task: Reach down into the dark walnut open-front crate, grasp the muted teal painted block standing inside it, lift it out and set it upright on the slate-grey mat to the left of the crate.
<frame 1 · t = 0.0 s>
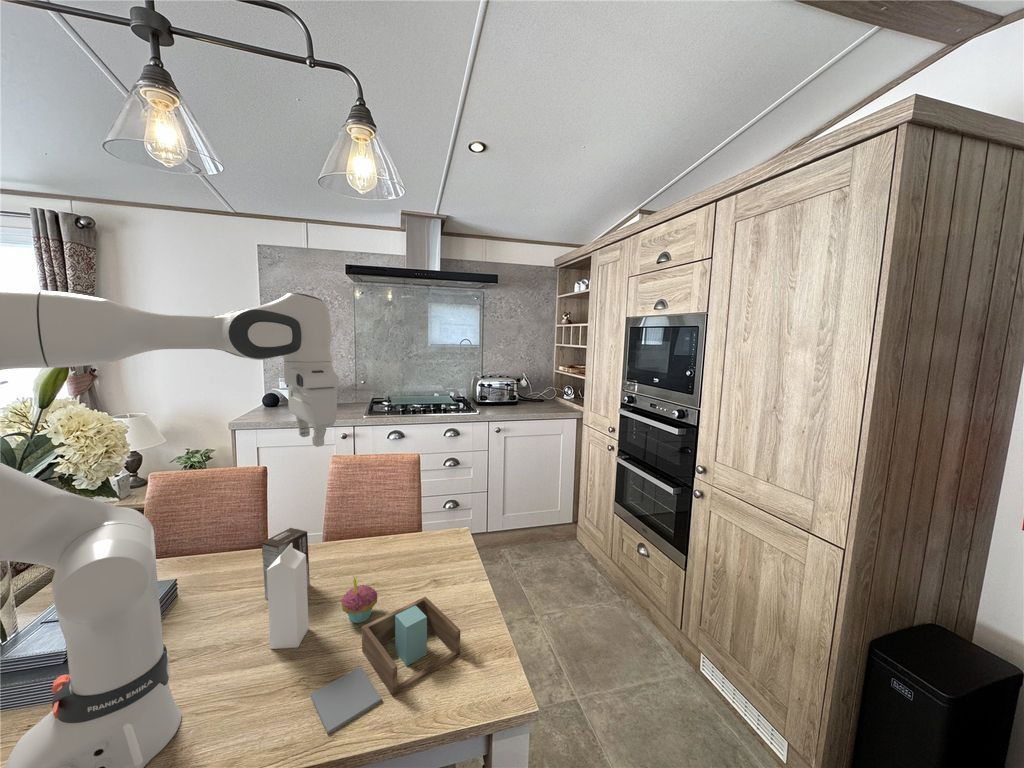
hand: (311, 440, 83), 48 cm above the table, fingers open, 8 cm apart
mat: (346, 698, 77), on the table
cupcake: (359, 617, 100), on the table
block: (411, 634, 88), in the crate
milk: (290, 639, 92), on the table
crate: (411, 653, 89), on the table
coffee box: (287, 592, 109), on the table
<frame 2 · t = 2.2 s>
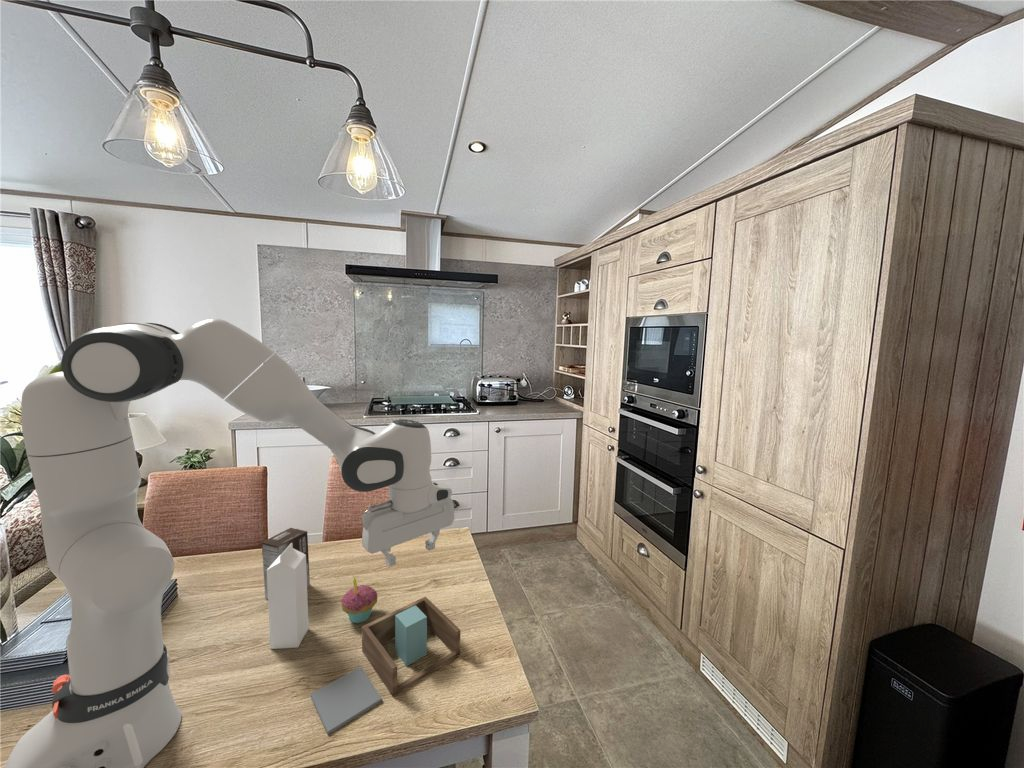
hand: (411, 556, 86), 23 cm above the table, fingers open, 8 cm apart
nothing on the table moved.
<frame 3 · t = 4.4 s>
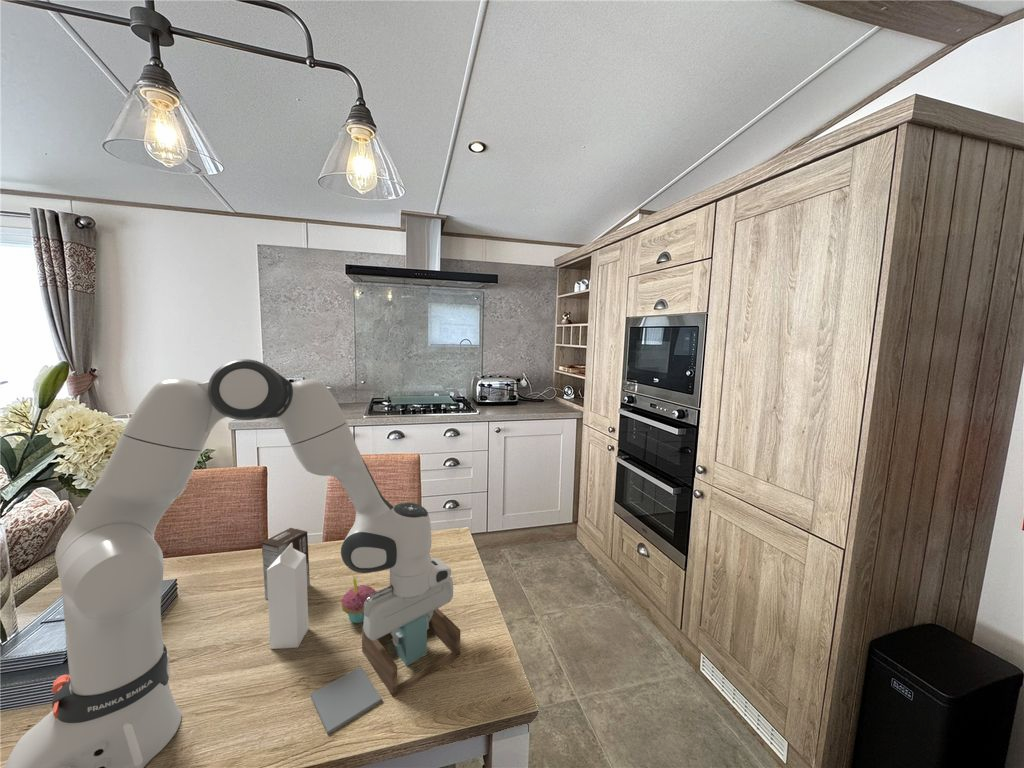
hand: (411, 635, 88), 4 cm above the table, fingers closed on block, 5 cm apart
block: (411, 634, 88), in the crate, touching gripper
everything else where it was.
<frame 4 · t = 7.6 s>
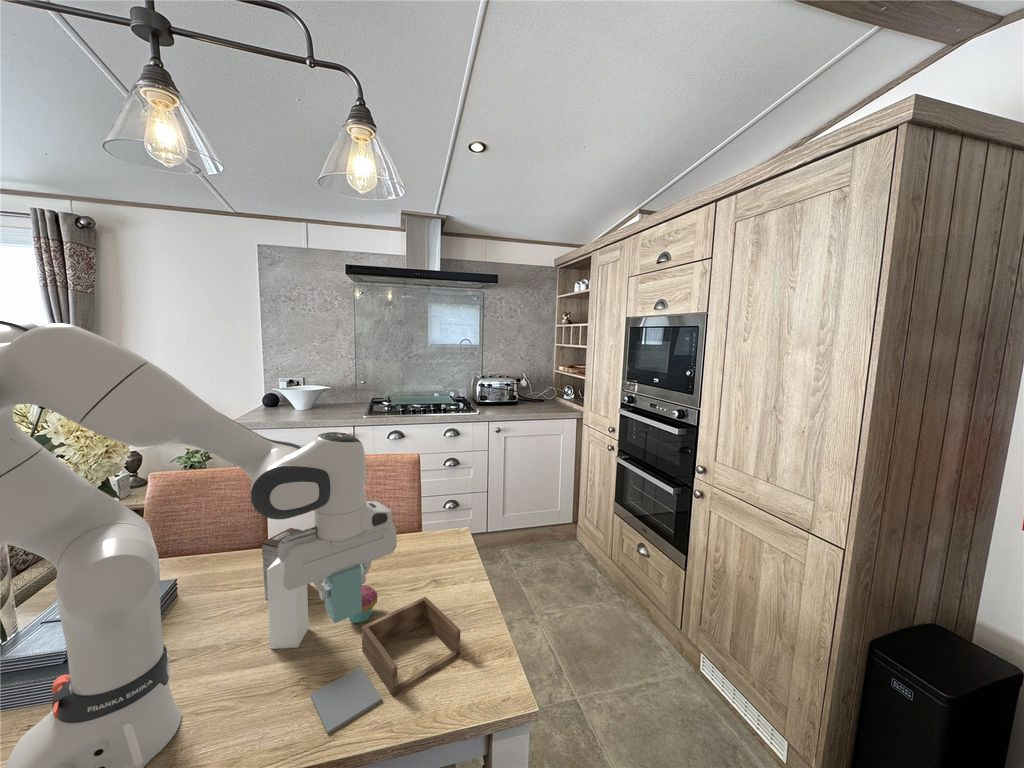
hand: (343, 589, 75), 23 cm above the table, fingers closed on block, 5 cm apart
block: (343, 588, 75), point 23 cm above the table, touching gripper
everything else where it was.
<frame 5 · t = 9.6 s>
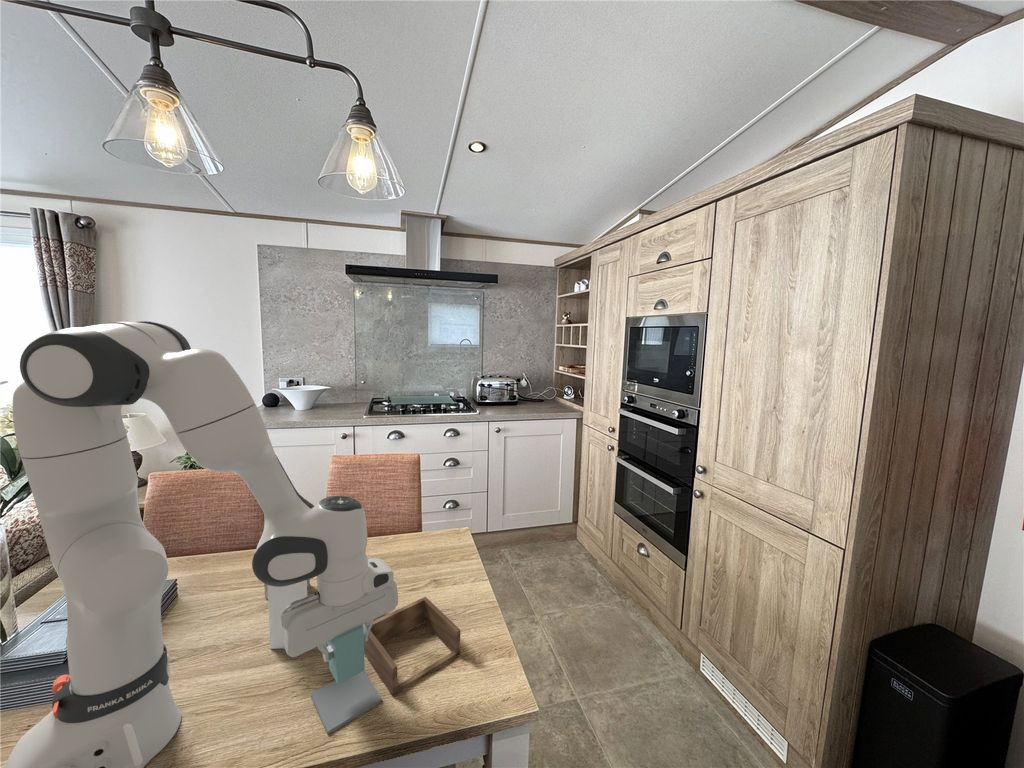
hand: (346, 649, 76), 10 cm above the table, fingers closed on block, 5 cm apart
block: (346, 647, 76), point 11 cm above the table, touching gripper
everything else where it was.
when the fingers open (6 cm above the table, at t = 11.1 s): block stays where it is, resting on mat.
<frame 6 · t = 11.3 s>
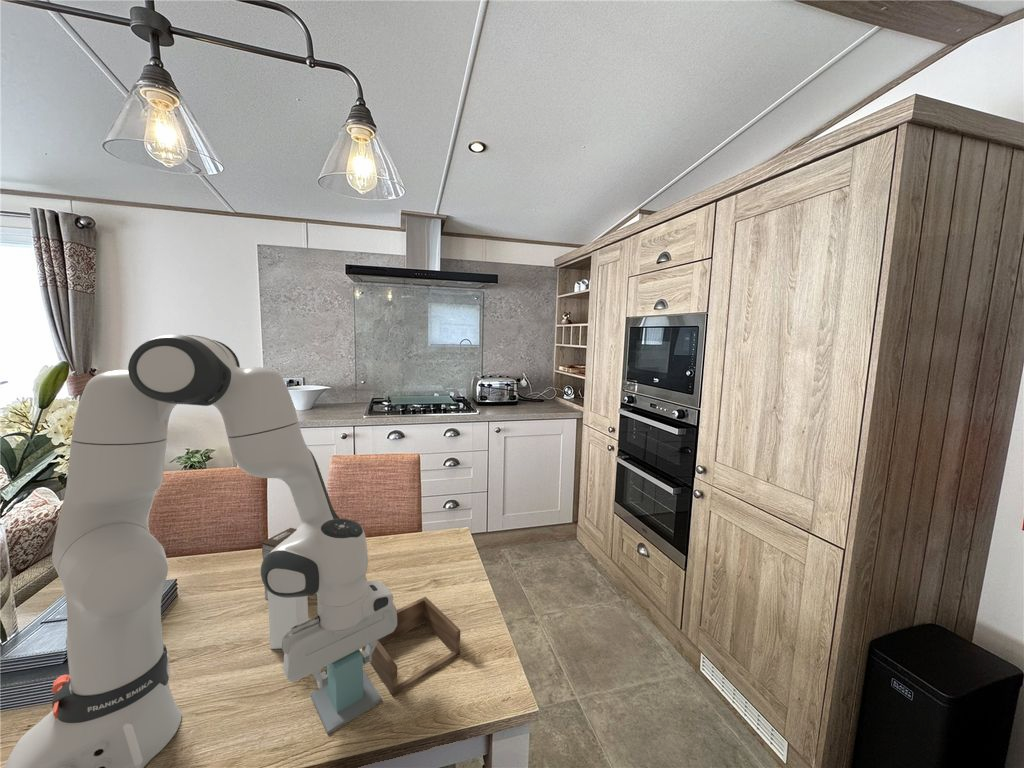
hand: (345, 672, 77), 6 cm above the table, fingers open, 7 cm apart
block: (345, 674, 77), on the mat, point 5 cm above the table
everything else where it was.
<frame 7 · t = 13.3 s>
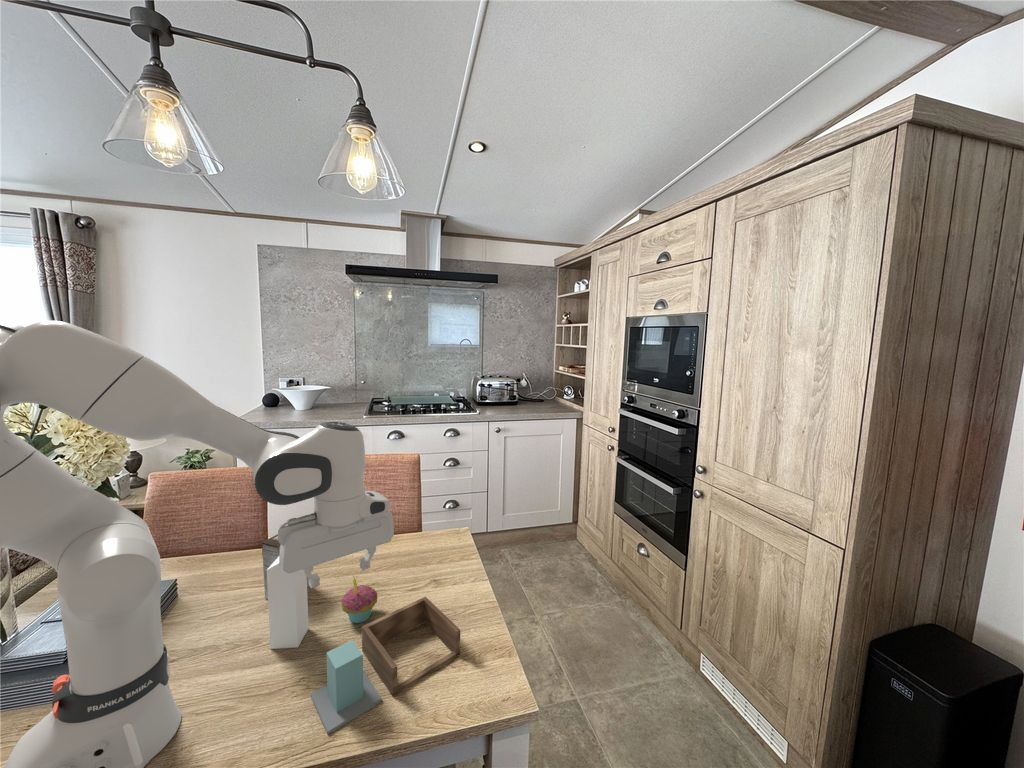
hand: (340, 576, 77), 24 cm above the table, fingers open, 8 cm apart
nothing on the table moved.
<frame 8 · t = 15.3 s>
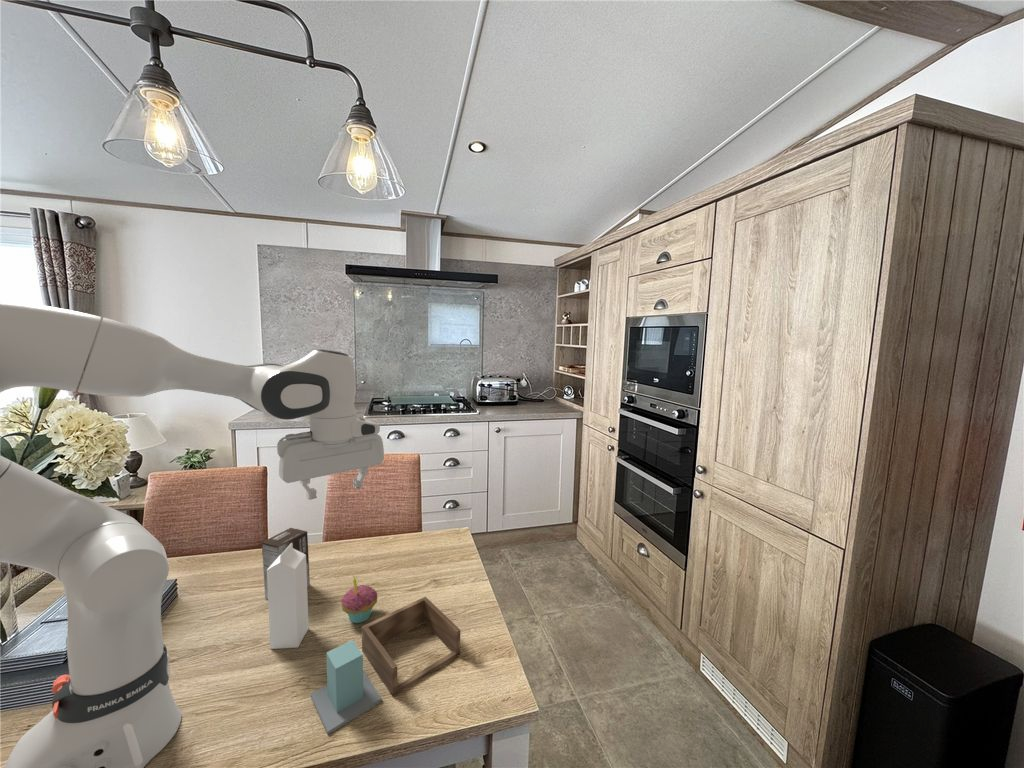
hand: (335, 492, 84), 37 cm above the table, fingers open, 8 cm apart
nothing on the table moved.
at the end: block inside the target area on the mat (0.1 cm from its centre), point 5.1 cm above the mat's base; block tilted 0°; the gripper is holding nothing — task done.
